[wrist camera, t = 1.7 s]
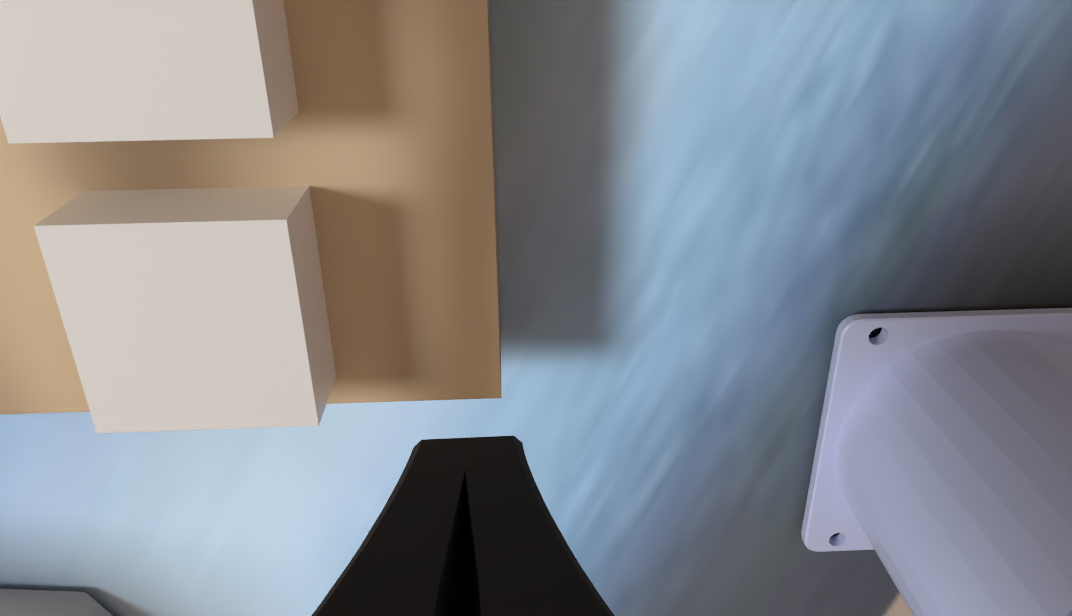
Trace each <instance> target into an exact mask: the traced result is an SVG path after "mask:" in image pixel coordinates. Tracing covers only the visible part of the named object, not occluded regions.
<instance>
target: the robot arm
mask: <svg viewBox="0 0 1072 616" xmlns="http://www.w3.org/2000/svg"><path fill="white" fill-rule="evenodd" d="M880 327H881V328H882V330H881V332H880V334H879V335H877V336H876V337H873V338H869V335H870V333H871V332H872V331H873V330H874V329H876V328H880ZM836 533H840V534H838V535H837V536H835V537H831V536H832V535H834V534H836ZM801 536H802V539H803V542H804V544H805V545H806V547H807V548H808V549H810V550H812V551H817V552H822V551H847V550H872V549H875V551H876V553H877V554H878V556H879V558H880V559H881V561H882V563H883V565H884V566H885V568H886V570H887V571H888V573H889V575H890V576H891V578H892V580H893V582H894V583H895V585H896V587H897V588H898V590H899V592H900V593H901V595H902V597H903V599H904V600H905V602H906V604H907V605H908V607H909V609H910V610H911V612H912V614H913V616H1072V308H1046V309H1012V310H979V311H945V312H911V313H878V314H856V315H851V316H849V317H847V318H845V319H844V320H843V321H842V322H841V323H840V324H839V326H838V328H837V331H836V336H835V342H834V348H833V354H832V359H831V365H830V371H829V376H828V382H827V388H826V394H825V399H824V405H823V411H822V417H821V422H820V428H819V434H818V440H817V445H816V451H815V457H814V463H813V468H812V474H811V480H810V485H809V491H808V497H807V503H806V508H805V514H804V520H803V526H802V531H801ZM312 616H614V614H613V613H612V612H611V610H610V609H609V607H608V606H607V605H606V603H605V602H604V600H603V599H602V598H601V596H600V595H599V593H598V592H597V590H596V589H595V587H594V586H593V584H592V583H591V581H590V580H589V578H588V577H587V575H586V574H585V572H584V571H583V569H582V568H581V566H580V564H579V563H578V561H577V560H576V558H575V556H574V555H573V553H572V551H571V550H570V548H569V546H568V545H567V543H566V541H565V539H564V537H563V536H562V534H561V532H560V530H559V529H558V527H557V525H556V523H555V521H554V520H553V518H552V516H551V514H550V512H549V510H548V508H547V506H546V504H545V502H544V500H543V498H542V496H541V494H540V492H539V490H538V487H537V485H536V483H535V481H534V478H533V476H532V473H531V471H530V468H529V466H528V463H527V460H526V457H525V453H524V450H523V445H522V442H521V441H519V440H518V439H517V438H516V437H515V436H498V437H474V438H451V439H428V440H421V441H420V442H419V443H418V444H417V445H416V446H415V447H414V448H413V451H412V453H411V456H410V458H409V460H408V462H407V465H406V467H405V469H404V471H403V473H402V475H401V477H400V479H399V481H398V483H397V485H396V487H395V489H394V490H393V492H392V494H391V496H390V498H389V499H388V501H387V503H386V505H385V507H384V508H383V510H382V512H381V513H380V515H379V517H378V518H377V520H376V522H375V523H374V525H373V527H372V528H371V530H370V531H369V533H368V535H367V536H366V538H365V540H364V541H363V543H362V545H361V546H360V548H359V549H358V551H357V552H356V554H355V555H354V557H353V558H352V560H351V561H350V563H349V564H348V566H347V567H346V568H345V570H344V571H343V573H342V574H341V576H340V577H339V578H338V580H337V581H336V583H335V584H334V586H333V587H332V588H331V590H330V591H329V593H328V594H327V595H326V597H325V598H324V600H323V601H322V603H321V604H320V605H319V607H318V608H317V609H316V611H315V612H314V613H313V614H312Z"/></svg>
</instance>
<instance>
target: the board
mask: <svg viewBox="0 0 1072 616" xmlns="http://www.w3.org/2000/svg"><path fill="white" fill-rule="evenodd" d="M283 2H284V9H285V16H286V23H287V30H288V37H289V44H290V52H291V59H292V66H293V73H294V80H295V87H296V94H297V101H298V109H299V112H298V113H297V114H296V115H295V116H294V117H293V118H292V119H291V120H290V122H289V123H288V124H287V125H286V126H285V127H284V128H283V129H282V130H281V131H280V132H279V133H278V134H277V135H276V136H275V137H274V138H243V139H197V140H151V141H104V142H58V143H12V144H8V140H7V137H6V134H5V131H4V127H3V124H2V121H1V117H0V414H26V413H57V412H87V411H90V410H89V406H88V403H87V400H86V397H85V393H84V390H83V387H82V383H81V380H80V377H79V374H78V370H77V367H76V364H75V360H74V357H73V354H72V351H71V347H70V344H69V341H68V337H67V334H66V331H65V328H64V324H63V321H62V318H61V314H60V311H59V308H58V305H57V301H56V298H55V295H54V291H53V288H52V285H51V282H50V278H49V275H48V272H47V268H46V265H45V262H44V259H43V255H42V252H41V249H40V245H39V242H38V239H37V236H36V232H35V229H34V225H36V224H37V223H39V222H40V221H41V220H43V219H44V218H46V217H47V216H49V215H50V214H52V213H53V212H55V211H56V210H57V209H59V208H60V207H62V206H63V205H65V204H66V203H68V202H69V201H71V200H72V199H73V198H75V197H76V196H78V195H79V194H81V193H82V192H84V191H106V190H148V189H190V188H233V187H275V186H309V187H310V194H311V201H312V208H313V215H314V223H315V230H316V237H317V244H318V251H319V258H320V265H321V272H322V280H323V287H324V294H325V301H326V308H327V315H328V322H329V329H330V337H331V344H332V351H333V358H334V365H335V372H336V377H335V380H334V383H333V386H332V389H331V391H330V394H329V397H328V400H327V403H326V404H331V403H362V402H392V401H423V400H453V399H483V398H501V332H500V302H499V273H498V244H497V215H496V186H495V157H494V127H493V98H492V69H491V40H490V11H489V0H283Z"/></svg>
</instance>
